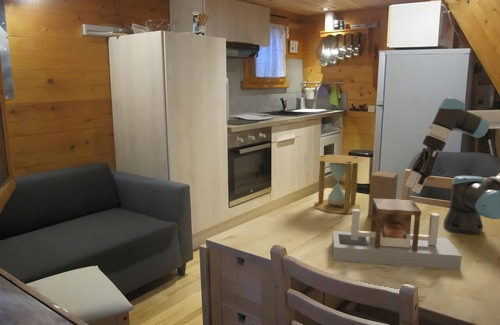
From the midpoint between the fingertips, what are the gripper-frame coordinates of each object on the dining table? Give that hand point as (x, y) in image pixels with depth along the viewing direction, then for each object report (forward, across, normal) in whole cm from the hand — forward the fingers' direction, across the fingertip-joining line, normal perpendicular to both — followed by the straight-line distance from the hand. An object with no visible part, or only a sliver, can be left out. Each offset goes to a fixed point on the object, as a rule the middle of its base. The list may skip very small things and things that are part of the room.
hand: (411, 189), depth 159 cm
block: (+20, +12, -1) cm, 23 cm away
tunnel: (+20, +12, -1) cm, 23 cm away
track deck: (+24, +11, +1) cm, 27 cm away
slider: (+19, +12, -1) cm, 23 cm away
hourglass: (+26, -44, -18) cm, 54 cm away
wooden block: (+19, -34, +1) cm, 39 cm away
